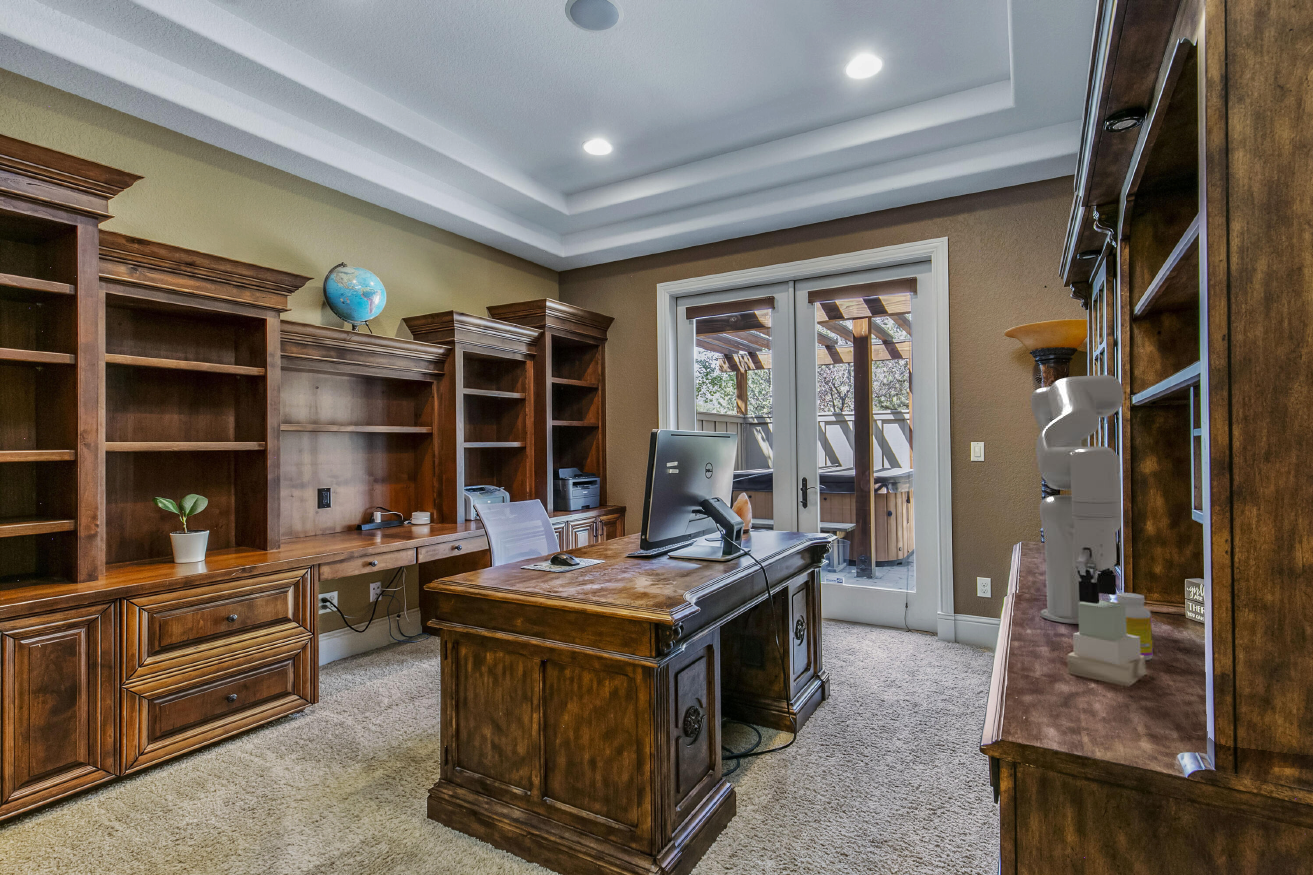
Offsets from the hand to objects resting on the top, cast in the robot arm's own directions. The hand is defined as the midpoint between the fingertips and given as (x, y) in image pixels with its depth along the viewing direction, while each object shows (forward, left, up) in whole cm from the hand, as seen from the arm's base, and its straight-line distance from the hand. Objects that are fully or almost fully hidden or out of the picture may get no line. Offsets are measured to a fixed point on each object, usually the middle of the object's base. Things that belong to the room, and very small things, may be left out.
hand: (1098, 598), depth 127 cm
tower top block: (0, +1, -11) cm, 11 cm away
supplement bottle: (-16, +1, -15) cm, 22 cm away
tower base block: (0, +1, -15) cm, 15 cm away
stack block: (0, +1, -7) cm, 7 cm away
